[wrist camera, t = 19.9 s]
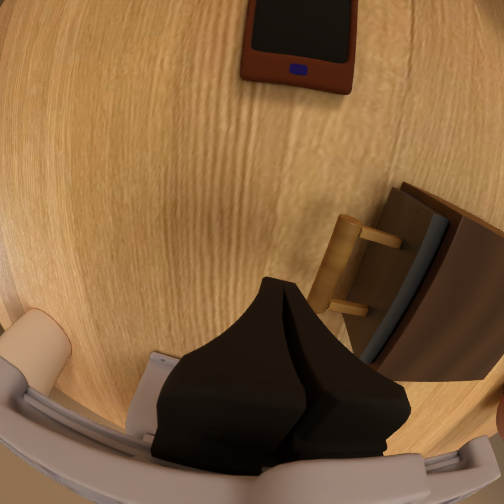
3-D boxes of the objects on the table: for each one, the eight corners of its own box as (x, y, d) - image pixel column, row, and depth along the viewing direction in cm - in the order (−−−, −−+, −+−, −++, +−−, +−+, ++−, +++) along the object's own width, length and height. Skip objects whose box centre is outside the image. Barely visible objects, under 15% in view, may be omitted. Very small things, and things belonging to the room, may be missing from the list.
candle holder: (83, 370, 30) (46, 436, 19) (34, 346, 30) (-6, 400, 19) (67, 317, 26) (11, 391, 15) (15, 293, 26) (-39, 349, 15)
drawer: (291, 299, 21) (295, 353, 16) (336, 166, 17) (364, 185, 11) (446, 328, 22) (470, 369, 17) (495, 235, 17) (535, 265, 12)
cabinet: (348, 311, 22) (369, 379, 16) (403, 181, 17) (463, 215, 11) (452, 329, 23) (483, 380, 16) (504, 232, 18) (553, 270, 11)
